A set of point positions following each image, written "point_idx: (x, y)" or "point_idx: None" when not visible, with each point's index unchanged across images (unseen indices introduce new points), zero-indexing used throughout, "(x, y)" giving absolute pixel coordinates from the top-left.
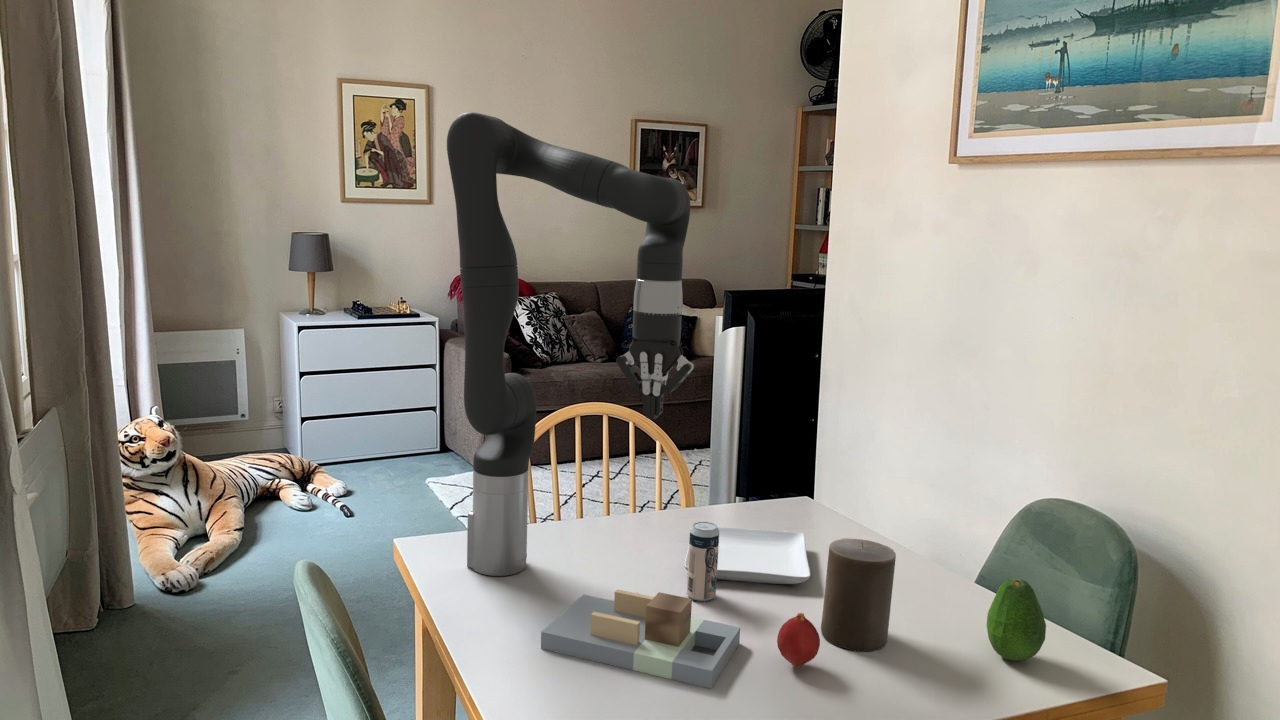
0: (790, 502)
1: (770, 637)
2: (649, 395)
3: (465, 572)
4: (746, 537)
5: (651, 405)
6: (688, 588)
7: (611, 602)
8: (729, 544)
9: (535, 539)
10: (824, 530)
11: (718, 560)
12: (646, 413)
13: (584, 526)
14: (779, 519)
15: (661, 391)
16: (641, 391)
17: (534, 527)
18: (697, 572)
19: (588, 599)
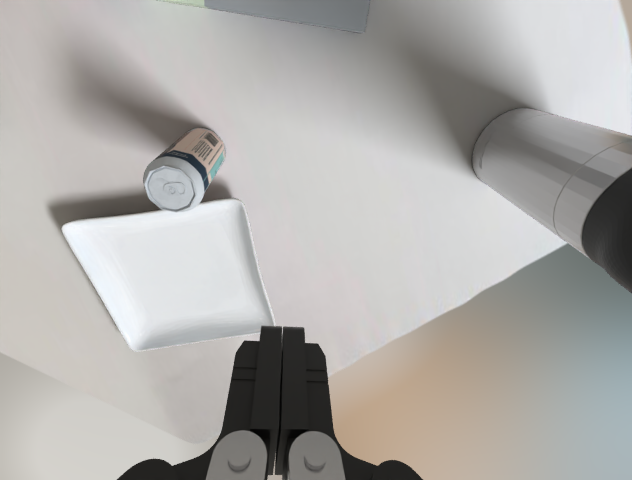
0: (201, 434)
1: (48, 34)
2: (293, 434)
3: (558, 110)
4: (204, 328)
5: (277, 376)
6: (217, 141)
7: (310, 12)
8: (222, 311)
9: (470, 251)
10: (136, 385)
11: (219, 263)
12: (302, 340)
13: (414, 307)
14: (196, 394)
15: (206, 475)
16: (351, 457)
17: (477, 284)
18: (193, 139)
19: (351, 11)
